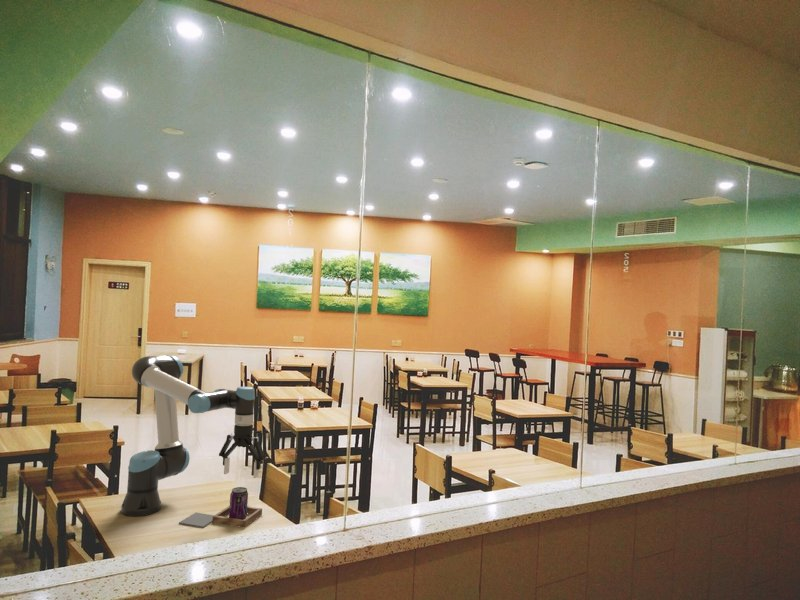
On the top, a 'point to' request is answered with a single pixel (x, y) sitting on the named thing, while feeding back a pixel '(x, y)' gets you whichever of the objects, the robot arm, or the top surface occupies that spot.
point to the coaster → (198, 520)
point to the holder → (222, 519)
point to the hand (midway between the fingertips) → (241, 475)
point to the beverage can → (238, 503)
